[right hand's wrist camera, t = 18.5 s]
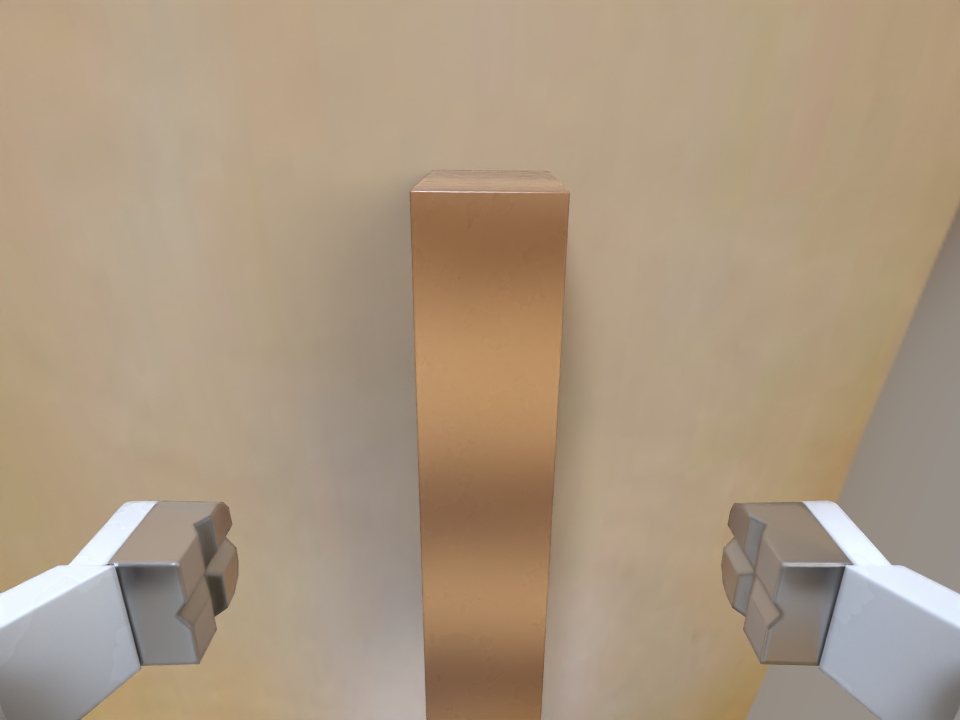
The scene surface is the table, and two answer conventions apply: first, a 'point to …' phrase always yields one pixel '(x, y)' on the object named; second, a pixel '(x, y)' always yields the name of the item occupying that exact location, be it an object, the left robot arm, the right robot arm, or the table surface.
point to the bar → (486, 431)
